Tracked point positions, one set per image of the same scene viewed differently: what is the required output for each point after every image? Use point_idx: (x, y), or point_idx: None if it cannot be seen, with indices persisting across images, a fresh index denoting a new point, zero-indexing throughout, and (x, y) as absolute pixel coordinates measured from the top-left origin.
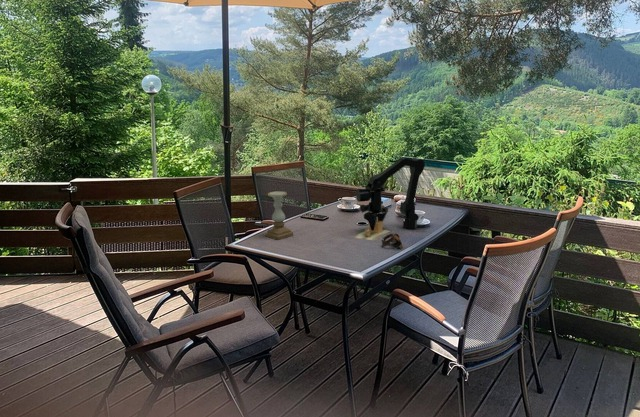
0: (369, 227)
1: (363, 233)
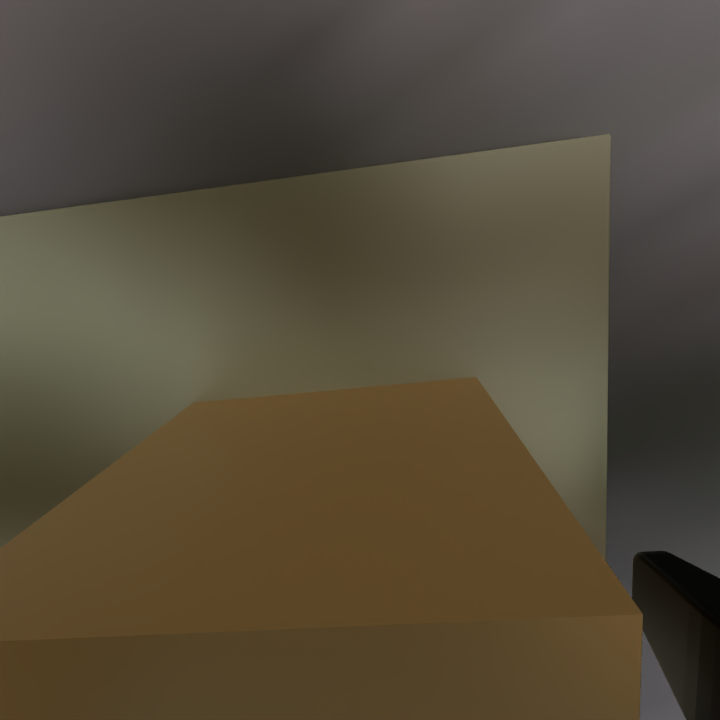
0: (105, 478)
1: (10, 322)
